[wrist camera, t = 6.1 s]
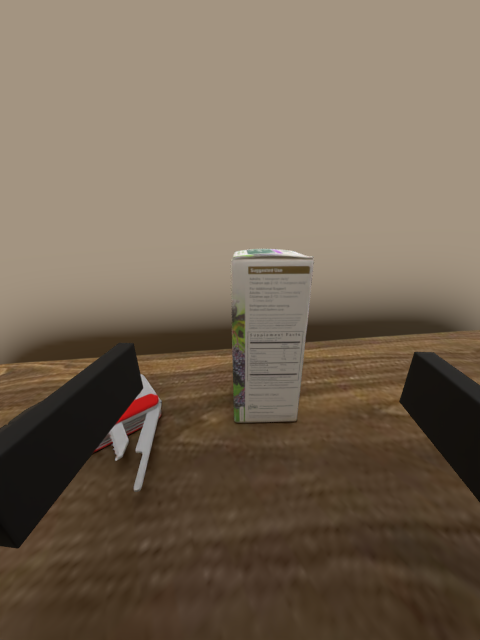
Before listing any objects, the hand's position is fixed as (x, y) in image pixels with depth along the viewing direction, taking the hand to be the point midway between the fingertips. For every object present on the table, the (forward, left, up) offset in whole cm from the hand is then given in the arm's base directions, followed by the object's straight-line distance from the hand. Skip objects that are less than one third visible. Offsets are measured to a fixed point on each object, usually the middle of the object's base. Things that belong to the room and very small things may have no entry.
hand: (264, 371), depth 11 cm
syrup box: (-4, -8, -10) cm, 13 cm away
